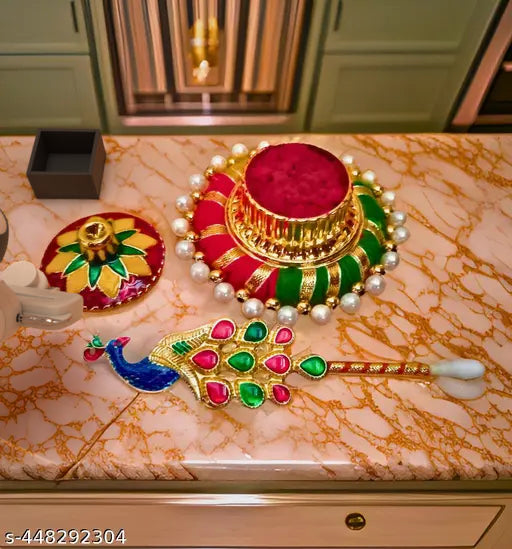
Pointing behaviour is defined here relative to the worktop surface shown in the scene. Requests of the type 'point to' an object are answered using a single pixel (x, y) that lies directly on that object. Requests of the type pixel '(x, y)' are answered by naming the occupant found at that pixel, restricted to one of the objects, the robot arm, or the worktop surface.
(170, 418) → the worktop surface
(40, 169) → the trash bin
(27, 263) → the pill bottle
